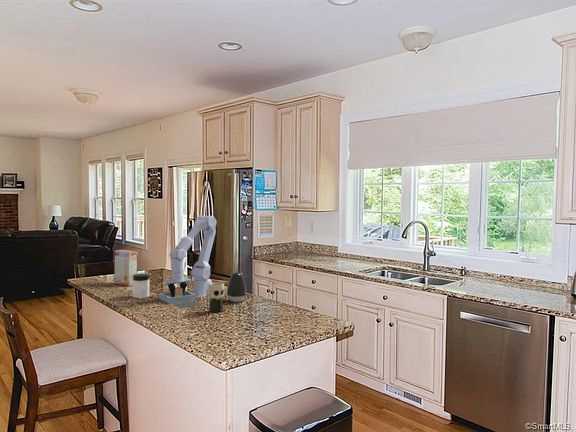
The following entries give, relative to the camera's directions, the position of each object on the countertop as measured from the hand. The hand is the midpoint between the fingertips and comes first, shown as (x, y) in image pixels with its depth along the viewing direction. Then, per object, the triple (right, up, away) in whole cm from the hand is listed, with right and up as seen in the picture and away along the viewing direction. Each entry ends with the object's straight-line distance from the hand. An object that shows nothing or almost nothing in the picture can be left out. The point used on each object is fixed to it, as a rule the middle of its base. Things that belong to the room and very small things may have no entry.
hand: (177, 297), depth 223 cm
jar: (-21, -1, +7) cm, 22 cm away
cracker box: (-42, 0, +39) cm, 57 cm away
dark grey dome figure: (+31, -2, +1) cm, 31 cm away
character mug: (+24, -3, -20) cm, 31 cm away
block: (0, -1, 0) cm, 1 cm away
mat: (+8, -2, -10) cm, 13 cm away
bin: (0, -2, 0) cm, 2 cm away
